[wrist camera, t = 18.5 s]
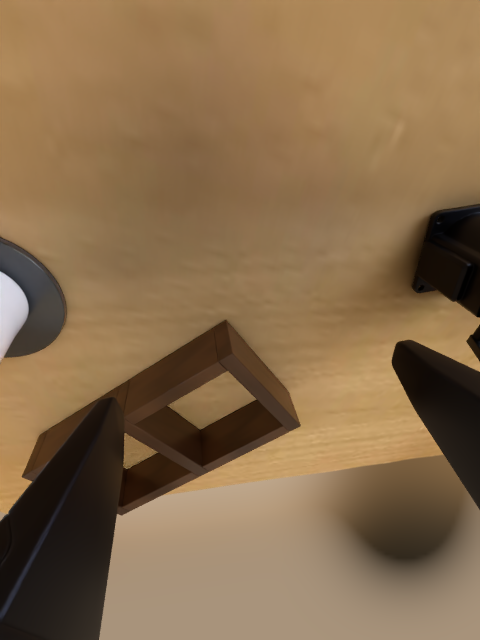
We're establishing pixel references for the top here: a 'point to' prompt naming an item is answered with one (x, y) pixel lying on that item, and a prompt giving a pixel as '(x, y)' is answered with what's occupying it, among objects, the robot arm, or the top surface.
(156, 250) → the top surface
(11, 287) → the white tumbler
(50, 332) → the coaster
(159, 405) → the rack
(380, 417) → the top surface
